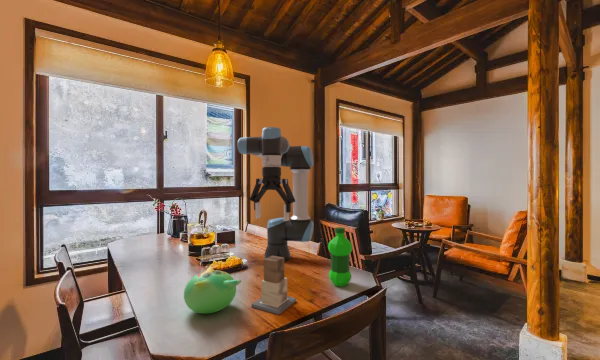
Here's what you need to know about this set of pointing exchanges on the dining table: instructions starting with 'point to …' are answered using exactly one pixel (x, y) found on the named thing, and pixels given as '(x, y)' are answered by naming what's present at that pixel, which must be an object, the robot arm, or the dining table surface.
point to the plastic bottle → (340, 258)
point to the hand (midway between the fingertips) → (271, 219)
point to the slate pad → (272, 308)
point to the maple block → (274, 292)
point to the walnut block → (274, 269)
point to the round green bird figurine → (210, 291)
